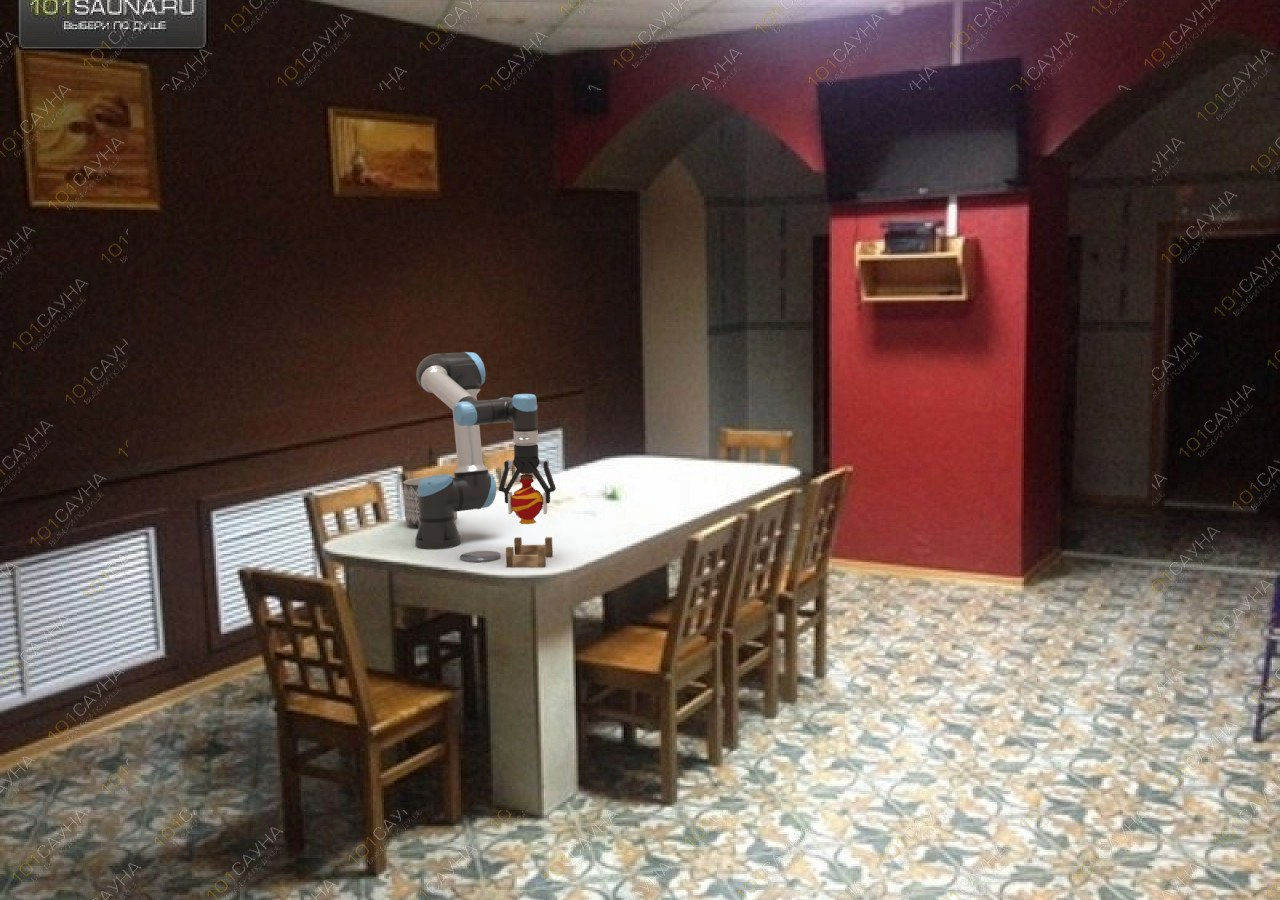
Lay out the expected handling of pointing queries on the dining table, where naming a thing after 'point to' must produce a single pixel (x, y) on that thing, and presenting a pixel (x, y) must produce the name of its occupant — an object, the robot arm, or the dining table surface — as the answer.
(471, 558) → the coaster
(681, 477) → the dining table surface
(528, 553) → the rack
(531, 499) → the potion bottle
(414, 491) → the planter
